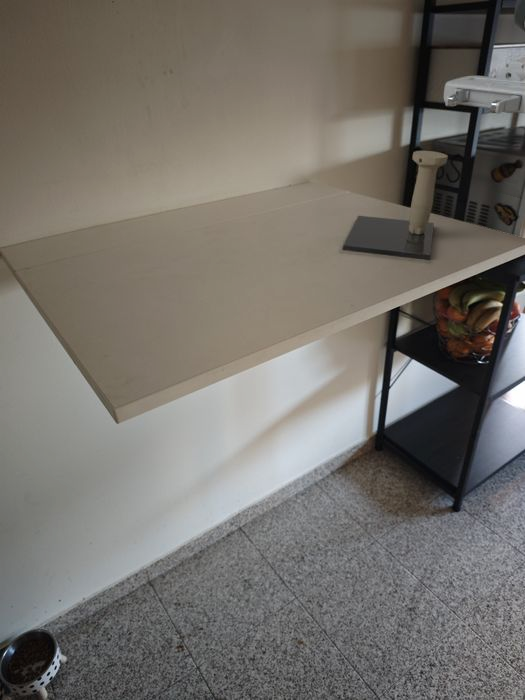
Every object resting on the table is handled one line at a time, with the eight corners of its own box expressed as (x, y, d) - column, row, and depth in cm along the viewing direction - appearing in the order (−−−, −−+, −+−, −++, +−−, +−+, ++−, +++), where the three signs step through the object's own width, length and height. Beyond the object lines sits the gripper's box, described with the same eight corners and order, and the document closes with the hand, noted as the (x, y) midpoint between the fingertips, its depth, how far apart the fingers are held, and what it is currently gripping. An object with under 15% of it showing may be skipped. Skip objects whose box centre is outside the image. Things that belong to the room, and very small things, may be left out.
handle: (413, 225, 104) (426, 149, 95) (437, 234, 99) (453, 155, 91) (396, 230, 101) (408, 152, 93) (420, 239, 97) (434, 159, 89)
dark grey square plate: (433, 227, 106) (433, 222, 105) (429, 259, 91) (430, 254, 91) (357, 219, 110) (358, 215, 109) (342, 249, 95) (343, 245, 95)
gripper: (471, 64, 100) (425, 80, 94) (574, 71, 86) (527, 91, 81) (467, 98, 104) (422, 115, 98) (564, 110, 90) (519, 132, 85)
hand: (470, 104), depth 89 cm, fingers open, 8 cm apart
